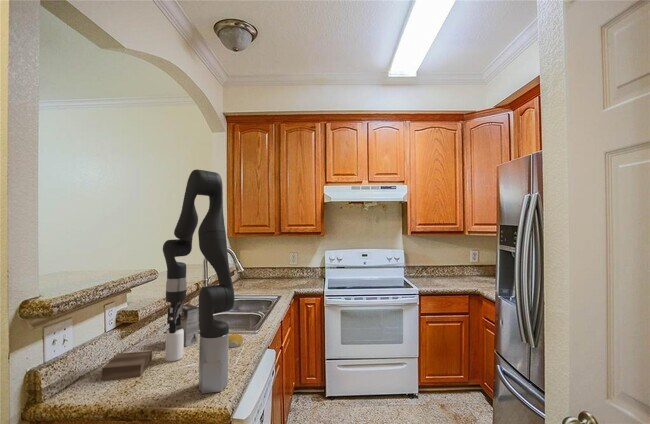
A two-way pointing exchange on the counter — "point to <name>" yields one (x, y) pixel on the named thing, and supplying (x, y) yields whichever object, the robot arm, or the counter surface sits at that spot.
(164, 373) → the counter surface
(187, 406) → the counter surface
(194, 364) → the counter surface
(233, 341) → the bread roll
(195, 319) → the coffee box
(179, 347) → the can
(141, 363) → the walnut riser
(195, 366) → the counter surface
